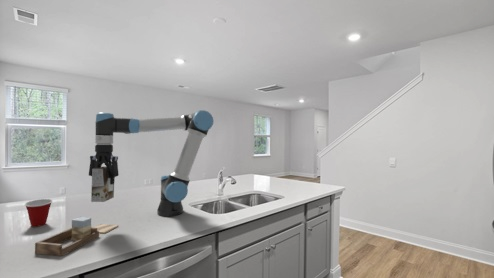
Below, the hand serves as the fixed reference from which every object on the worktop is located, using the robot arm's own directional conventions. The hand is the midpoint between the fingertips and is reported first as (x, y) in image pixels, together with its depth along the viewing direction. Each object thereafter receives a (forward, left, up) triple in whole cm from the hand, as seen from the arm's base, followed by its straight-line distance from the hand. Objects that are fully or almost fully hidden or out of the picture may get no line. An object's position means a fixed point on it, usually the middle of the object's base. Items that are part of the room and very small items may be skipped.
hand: (103, 190), depth 114 cm
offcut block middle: (+1, +11, -16) cm, 20 cm away
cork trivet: (0, 0, -19) cm, 19 cm away
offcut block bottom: (+1, +11, -19) cm, 22 cm away
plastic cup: (+36, +1, -19) cm, 41 cm away
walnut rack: (+1, +17, -19) cm, 26 cm away
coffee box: (0, 0, -5) cm, 5 cm away
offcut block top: (+1, +11, -13) cm, 18 cm away
